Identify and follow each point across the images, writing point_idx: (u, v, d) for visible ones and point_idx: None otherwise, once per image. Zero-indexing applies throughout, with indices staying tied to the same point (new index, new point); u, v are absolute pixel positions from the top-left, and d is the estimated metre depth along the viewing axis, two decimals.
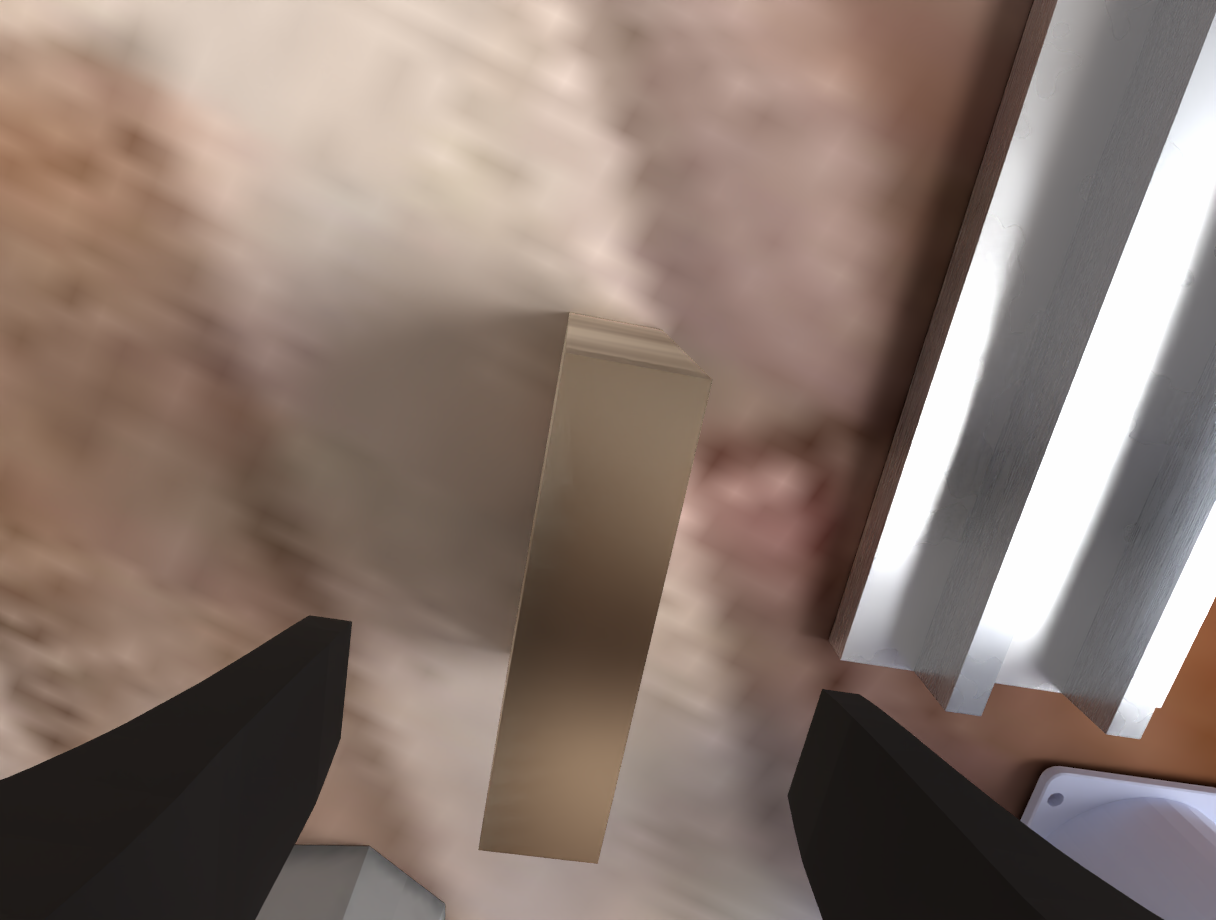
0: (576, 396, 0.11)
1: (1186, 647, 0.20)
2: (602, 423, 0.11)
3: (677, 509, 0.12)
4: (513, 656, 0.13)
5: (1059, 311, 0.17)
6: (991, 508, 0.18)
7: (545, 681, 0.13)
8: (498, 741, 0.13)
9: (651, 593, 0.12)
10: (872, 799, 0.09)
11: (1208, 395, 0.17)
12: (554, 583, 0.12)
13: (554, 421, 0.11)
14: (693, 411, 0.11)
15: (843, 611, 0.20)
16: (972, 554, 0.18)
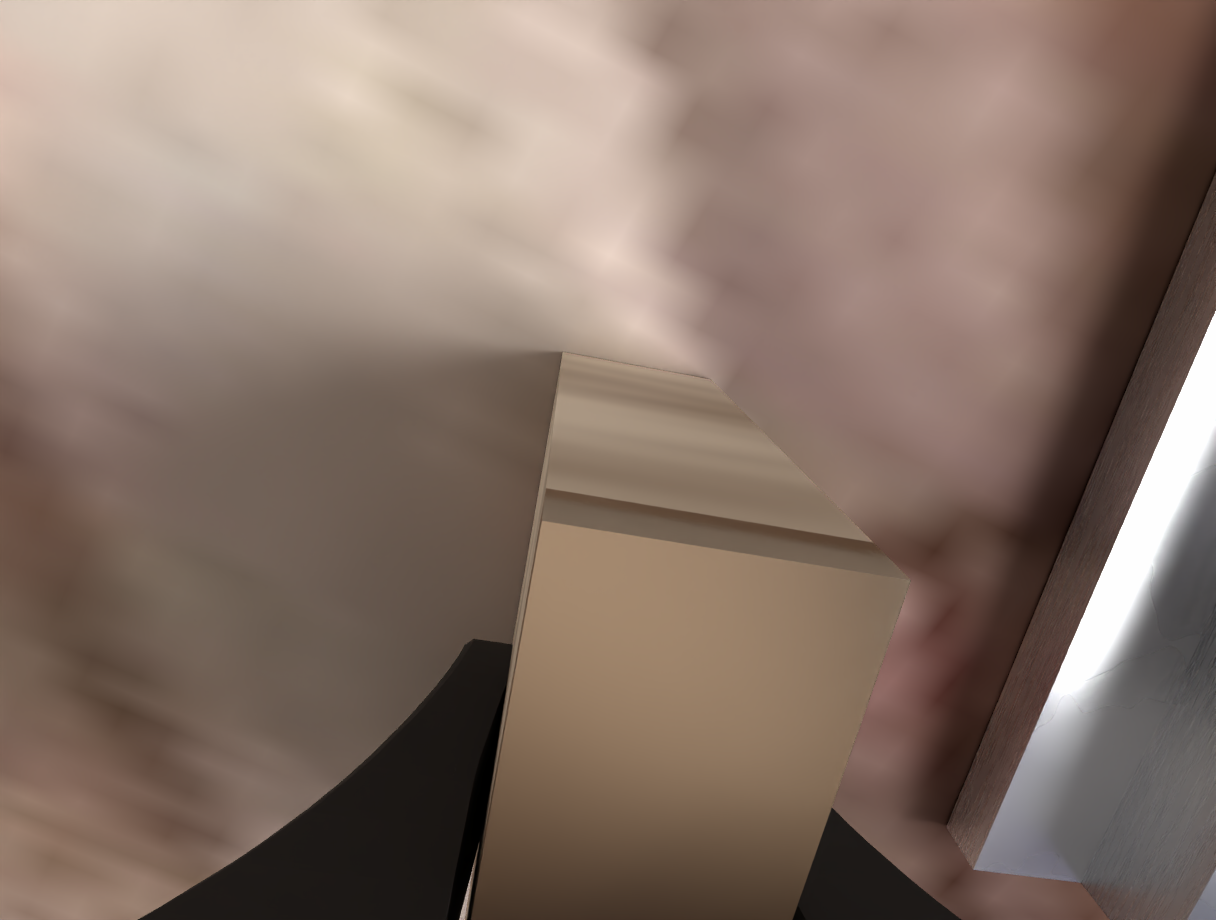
0: (570, 622, 0.04)
1: None
2: (633, 680, 0.05)
3: (804, 854, 0.05)
4: None
5: None
6: None
7: None
8: None
9: None
10: None
11: None
12: None
13: (516, 681, 0.05)
14: (857, 651, 0.05)
15: (974, 792, 0.13)
16: (1197, 730, 0.12)
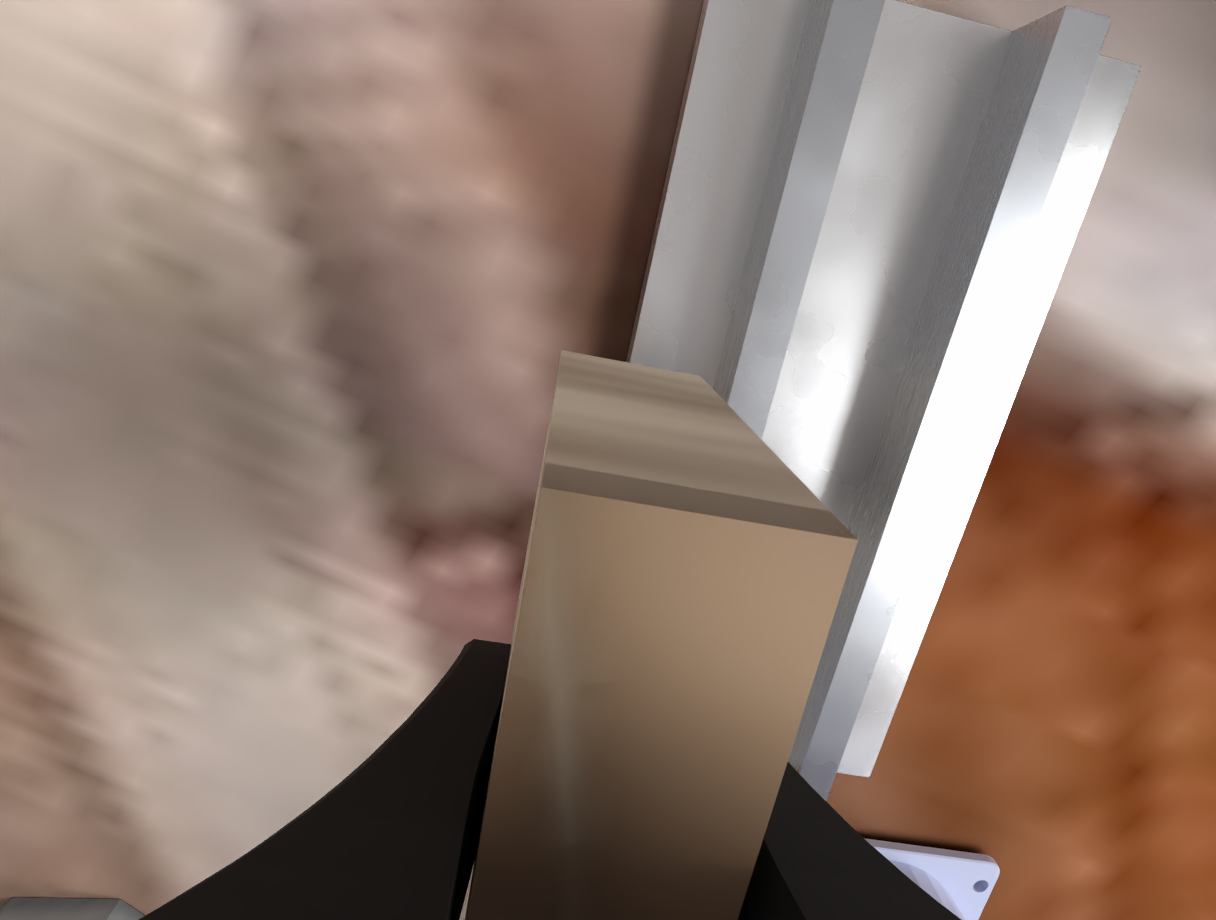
0: (566, 576, 0.05)
1: (886, 721, 0.21)
2: (620, 627, 0.05)
3: (771, 784, 0.06)
4: None
5: None
6: None
7: None
8: None
9: None
10: None
11: (868, 491, 0.18)
12: (524, 917, 0.06)
13: (519, 627, 0.05)
14: (813, 602, 0.05)
15: None
16: None
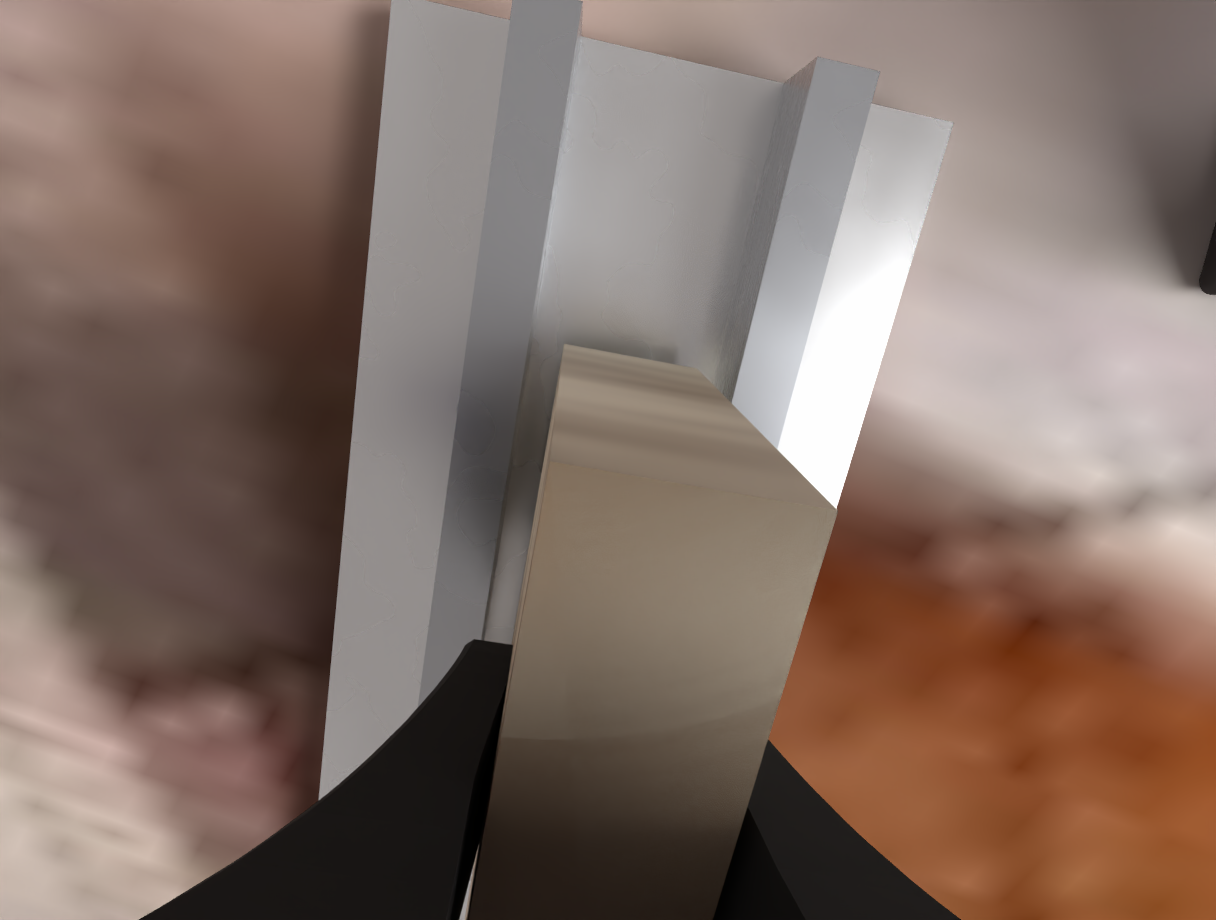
0: (571, 543, 0.06)
1: None
2: (622, 590, 0.06)
3: (760, 738, 0.06)
4: None
5: None
6: None
7: None
8: None
9: (707, 875, 0.07)
10: None
11: None
12: (532, 863, 0.07)
13: (529, 590, 0.06)
14: (798, 568, 0.06)
15: None
16: None
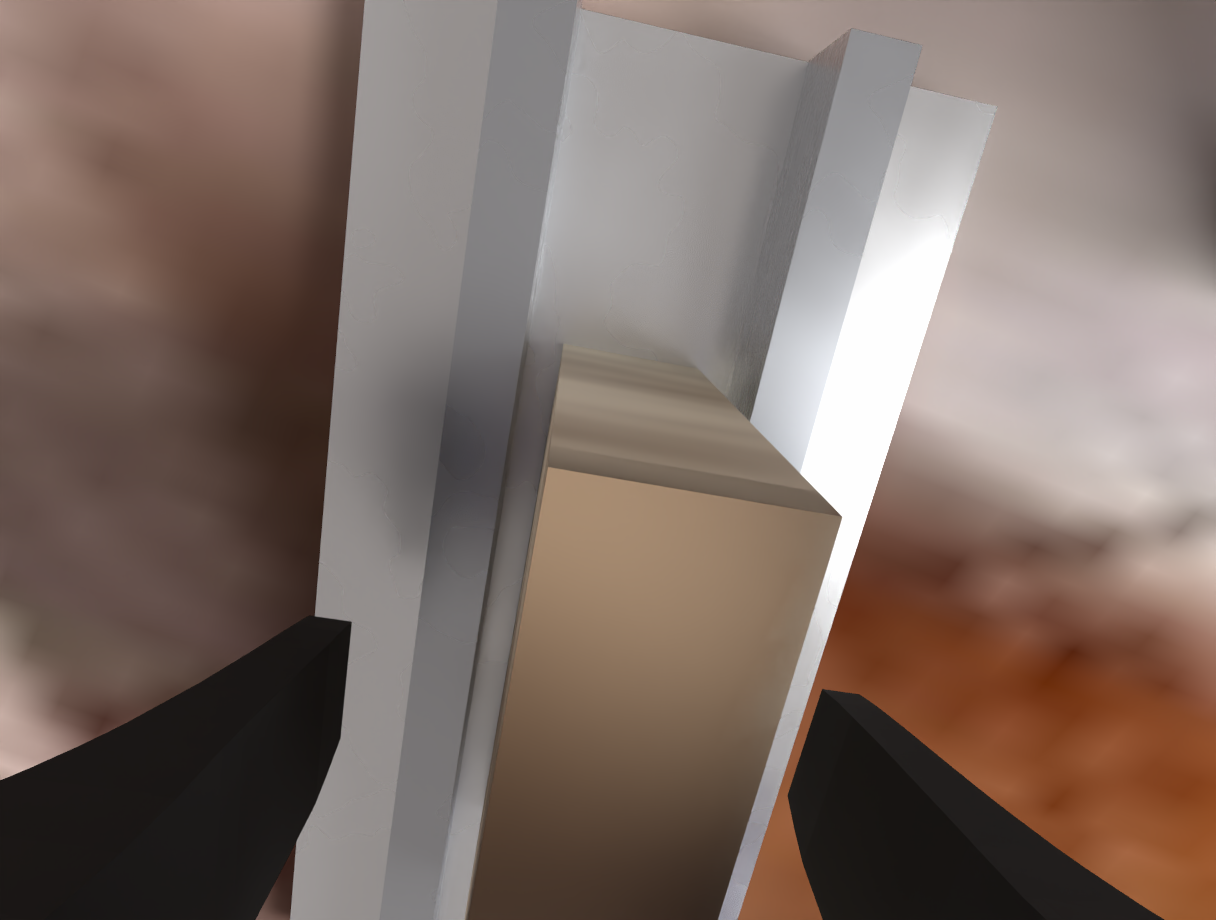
0: (571, 550, 0.06)
1: None
2: (622, 599, 0.06)
3: (762, 748, 0.06)
4: None
5: None
6: None
7: None
8: None
9: (709, 886, 0.07)
10: (871, 798, 0.09)
11: None
12: (530, 875, 0.07)
13: (527, 598, 0.06)
14: (802, 576, 0.06)
15: None
16: None
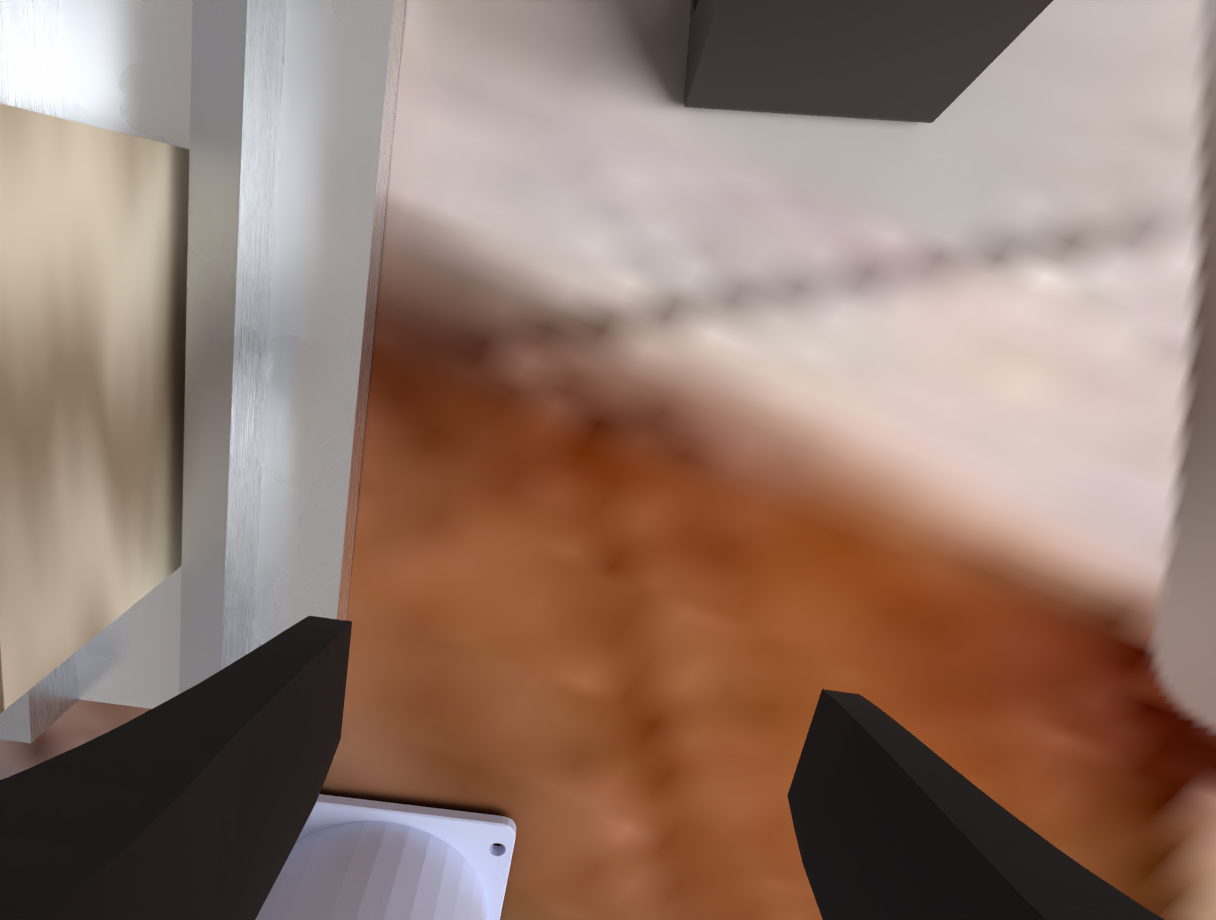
0: None
1: None
2: None
3: None
4: None
5: None
6: None
7: None
8: None
9: None
10: (872, 799, 0.09)
11: None
12: None
13: None
14: None
15: None
16: None
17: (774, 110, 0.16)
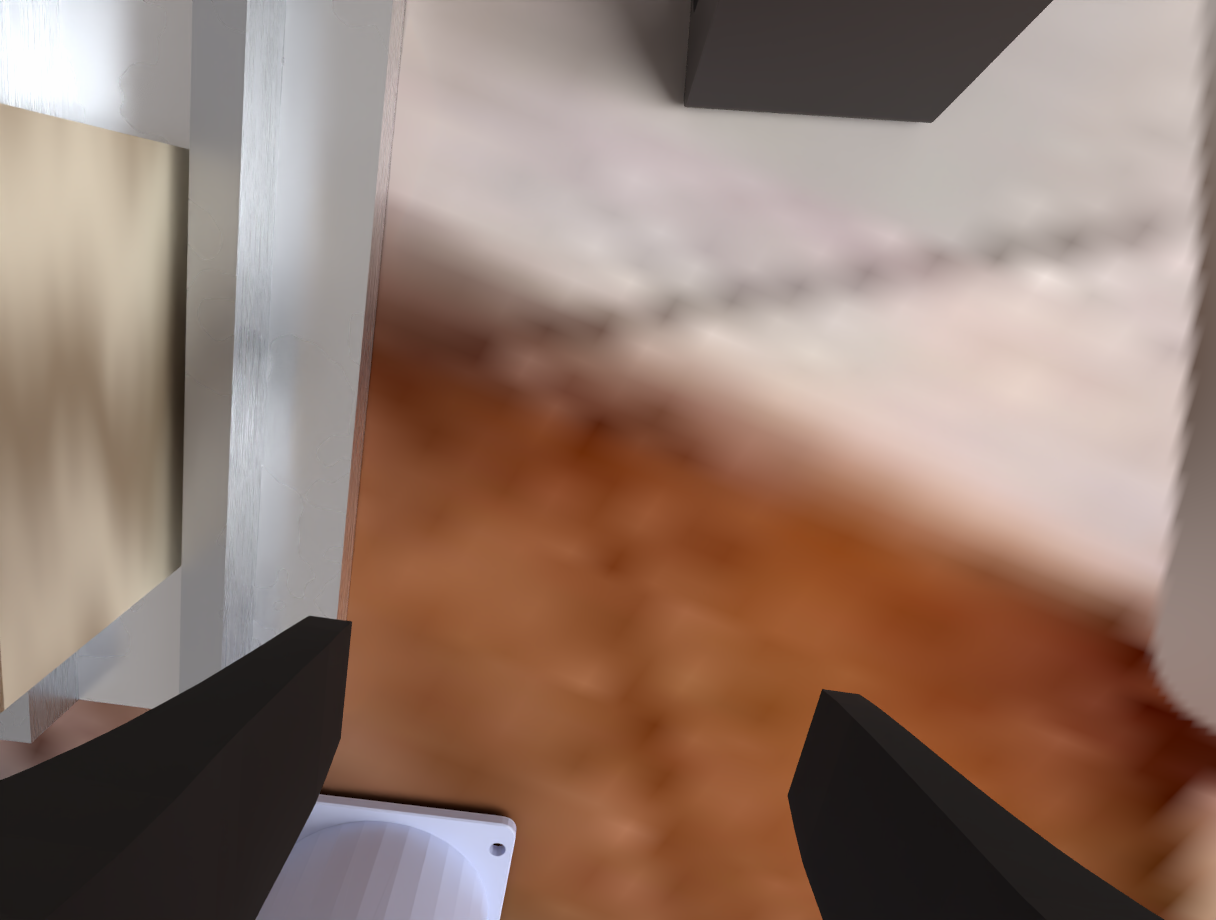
0: None
1: None
2: None
3: None
4: None
5: None
6: None
7: None
8: None
9: None
10: (872, 799, 0.09)
11: None
12: None
13: None
14: None
15: None
16: None
17: (774, 110, 0.16)
